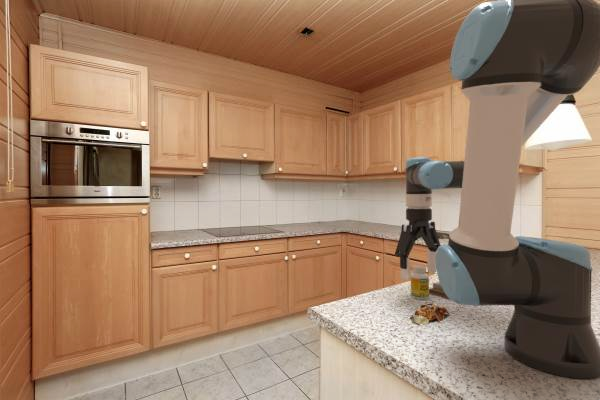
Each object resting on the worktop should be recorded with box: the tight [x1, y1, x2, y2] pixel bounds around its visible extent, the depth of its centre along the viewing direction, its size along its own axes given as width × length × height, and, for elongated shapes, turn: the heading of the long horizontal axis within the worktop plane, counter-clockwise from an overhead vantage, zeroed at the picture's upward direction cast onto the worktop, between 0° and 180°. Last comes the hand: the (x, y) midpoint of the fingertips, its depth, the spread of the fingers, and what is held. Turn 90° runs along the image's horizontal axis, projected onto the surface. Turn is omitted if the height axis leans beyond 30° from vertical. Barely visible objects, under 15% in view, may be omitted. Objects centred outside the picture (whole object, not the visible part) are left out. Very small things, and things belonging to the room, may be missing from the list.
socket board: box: [429, 280, 451, 301], centre depth 98 cm, size 12×9×3 cm
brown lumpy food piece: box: [409, 301, 450, 326], centre depth 80 cm, size 7×12×4 cm, turn 134°
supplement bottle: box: [410, 264, 430, 301], centre depth 95 cm, size 5×5×10 cm
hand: (419, 275), depth 96 cm, fingers open, 13 cm apart
